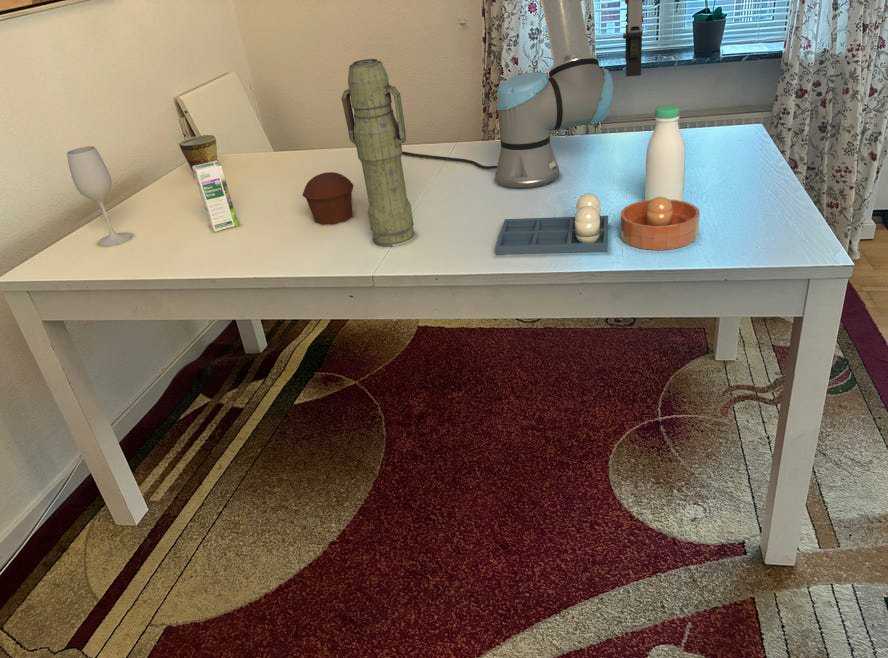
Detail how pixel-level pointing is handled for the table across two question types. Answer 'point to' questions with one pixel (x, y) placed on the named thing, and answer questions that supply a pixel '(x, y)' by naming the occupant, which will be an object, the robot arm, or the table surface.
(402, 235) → the thermos
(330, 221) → the muffin
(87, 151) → the wineglass
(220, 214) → the syrup box
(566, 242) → the egg tray
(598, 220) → the cream egg
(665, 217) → the brown egg
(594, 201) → the cream egg
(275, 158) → the table surface
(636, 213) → the bowl
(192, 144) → the ceramic cup
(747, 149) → the table surface
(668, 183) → the milk bottle
